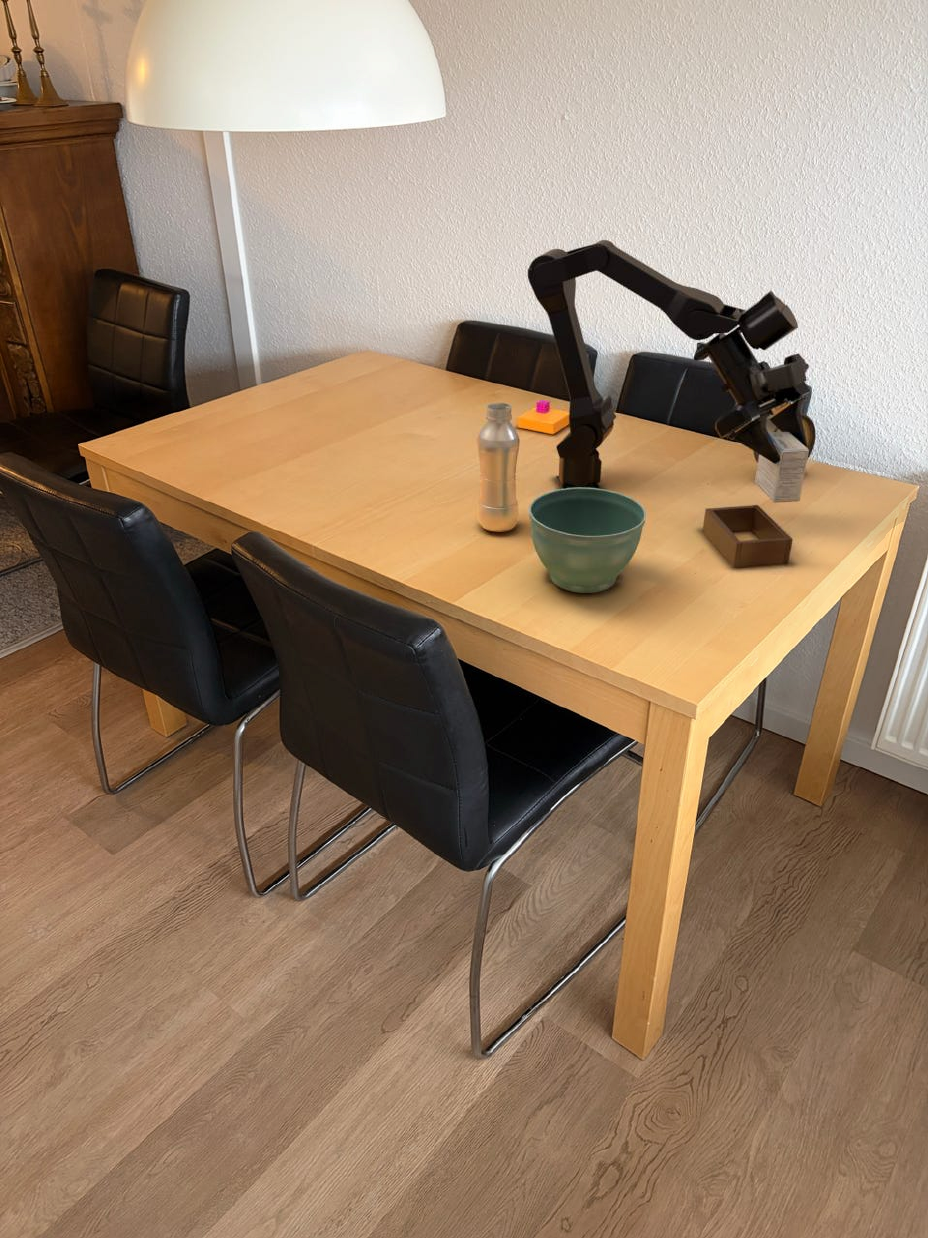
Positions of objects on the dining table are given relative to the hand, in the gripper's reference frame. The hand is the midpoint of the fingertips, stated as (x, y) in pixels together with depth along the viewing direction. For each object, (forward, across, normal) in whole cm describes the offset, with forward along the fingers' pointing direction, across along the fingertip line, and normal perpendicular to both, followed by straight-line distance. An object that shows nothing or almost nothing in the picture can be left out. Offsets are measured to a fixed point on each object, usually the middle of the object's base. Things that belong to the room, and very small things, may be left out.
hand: (791, 455), depth 149 cm
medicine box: (+4, 0, +6) cm, 7 cm away
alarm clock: (+1, +19, +17) cm, 26 cm away
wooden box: (+8, -10, +9) cm, 16 cm away
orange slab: (-35, +12, +49) cm, 61 cm away
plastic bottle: (-14, -31, +32) cm, 46 cm away
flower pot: (+1, -35, +17) cm, 39 cm away
